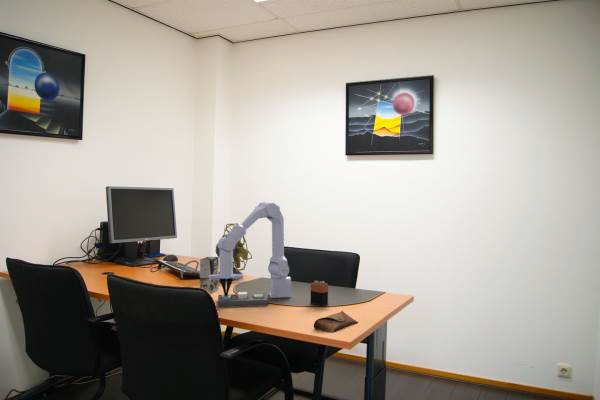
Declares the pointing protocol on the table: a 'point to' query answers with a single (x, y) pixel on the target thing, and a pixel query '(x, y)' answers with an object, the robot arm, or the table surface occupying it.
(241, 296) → the ivory button
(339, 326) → the sunglasses case
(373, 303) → the table surface
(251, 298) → the button panel
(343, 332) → the table surface
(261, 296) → the green button
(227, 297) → the blue button
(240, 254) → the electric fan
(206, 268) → the coffee box
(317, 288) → the battery
